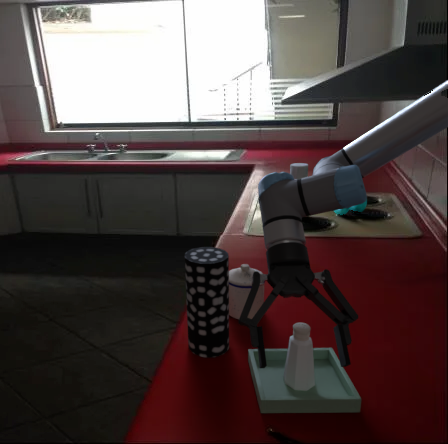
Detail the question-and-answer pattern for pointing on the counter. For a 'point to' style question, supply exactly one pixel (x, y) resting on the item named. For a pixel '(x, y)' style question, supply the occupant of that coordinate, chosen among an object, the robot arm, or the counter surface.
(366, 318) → the counter surface
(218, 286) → the white-spotted black cylinder
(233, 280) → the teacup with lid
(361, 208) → the turquoise dumbbell
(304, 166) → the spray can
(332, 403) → the tray
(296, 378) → the salt shaker
